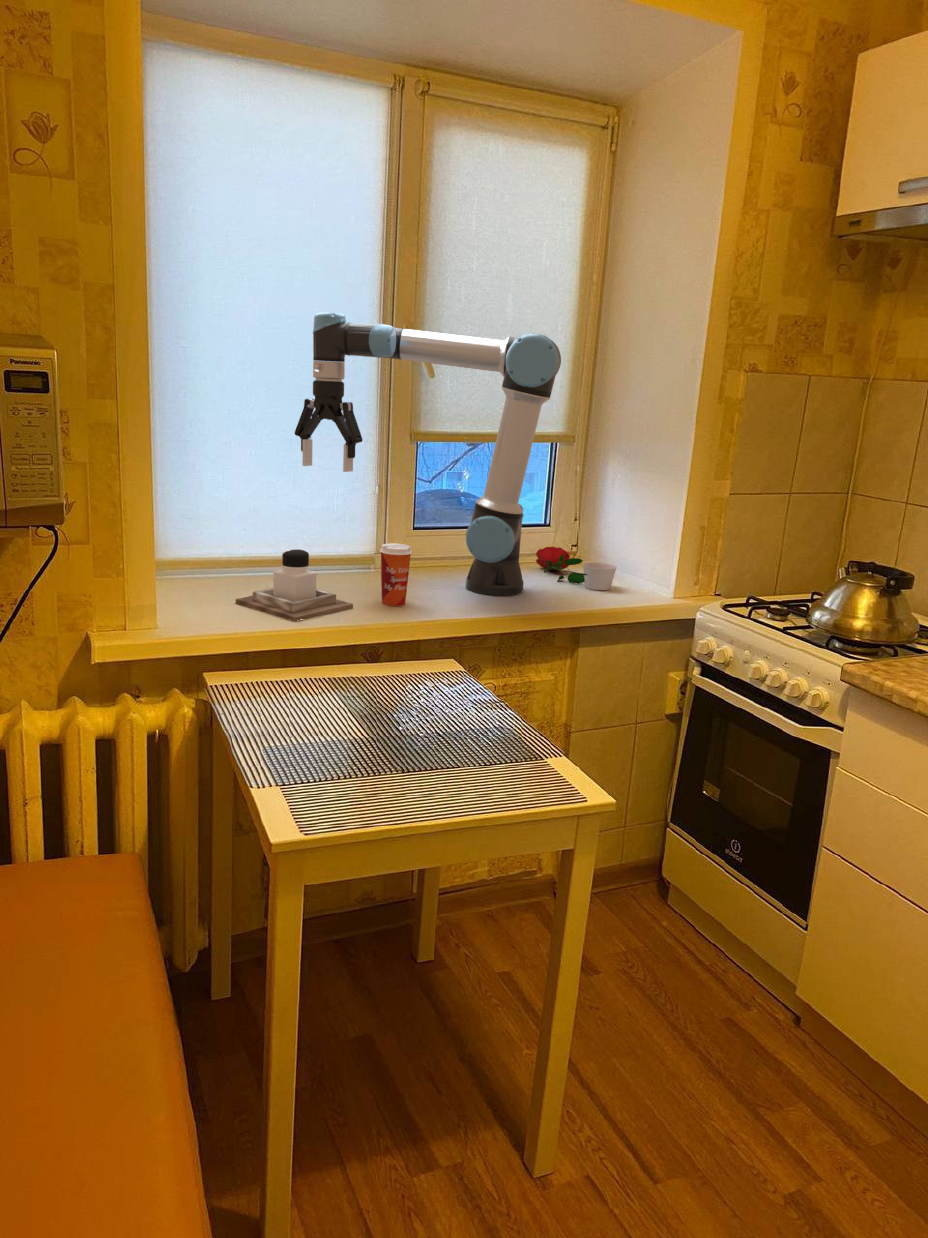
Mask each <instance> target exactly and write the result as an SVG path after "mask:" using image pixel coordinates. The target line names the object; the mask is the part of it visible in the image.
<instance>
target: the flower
mask: <svg viewBox="0 0 928 1238" xmlns="http://www.w3.org/2000/svg"><path fill="white" fill-rule="evenodd" d="M535 555H536V558H537V559H536V560H535V562H536V564H537V565H539V566H540V567H541V568H543V567H544V569H545V570H544V571H543V572H545V573H548V572H550V571H551V570H553V571H555V570H559V571H558V572H564V573H566V576H564V575H563V574H562V575H560V576H558V579H557V580H556V582H559V581H560V580H563V579H566V578H567V581H568V582H569V583H571V582H572V583H571V584H575V583H577V584H576V585H579V584H583V583H585V582H584V575H587V574H586V573H585V574H584V572H583V573H582V572H577V571H572V570H570V569H569V568H568V567H569V566H576V565H579V564H581V563H582V562H583V561H584V560H583V559H581V558H577V557H576V558H575V557H571V556H570V554H569V552H567V550H565V549H564V548H562V547H555V546H546V547H543V548H539V549H538V550H536V553H535ZM565 569H567V570H565Z"/></svg>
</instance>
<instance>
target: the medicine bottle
mask: <svg viewBox="0 0 928 1238" xmlns="http://www.w3.org/2000/svg"><path fill="white" fill-rule="evenodd" d="M309 564H310V553H309V552H308V551H306V550H304V549H299V548H297V549H296V548H292V549H291V548H290V549H286V550H283V552H282V553H281V569H278V570H273V578H272V579H273V582H272V584H273V585H272V588H273V596H276V597H279V598H283V599H286V600H289V601H293V602H294V601H299V600H304V599H308V598H313V597H316V589H317V578H318V577H317V575H318V573H317V572H316V571H313V570H309V567H310V565H309Z"/></svg>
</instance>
